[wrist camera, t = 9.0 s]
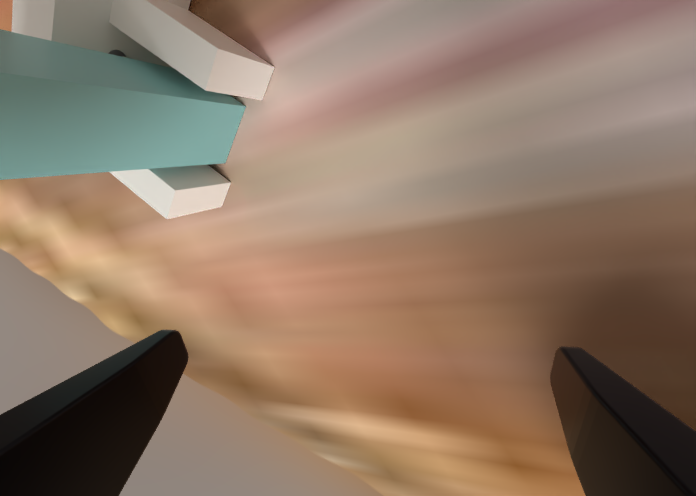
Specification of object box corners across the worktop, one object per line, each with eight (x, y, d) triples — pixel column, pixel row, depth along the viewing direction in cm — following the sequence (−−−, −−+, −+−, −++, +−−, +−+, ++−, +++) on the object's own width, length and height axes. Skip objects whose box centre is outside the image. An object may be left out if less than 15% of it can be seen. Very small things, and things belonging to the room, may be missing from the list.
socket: (282, 47, 20) (179, 4, 13) (217, 219, 25) (122, 244, 19) (158, -32, 21) (17, -103, 15) (122, 144, 27) (7, 144, 20)
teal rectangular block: (245, 106, 21) (-5, 71, 11) (225, 163, 23) (-8, 180, 13) (182, 62, 22) (-104, -9, 12) (167, 120, 24) (-93, 102, 14)
